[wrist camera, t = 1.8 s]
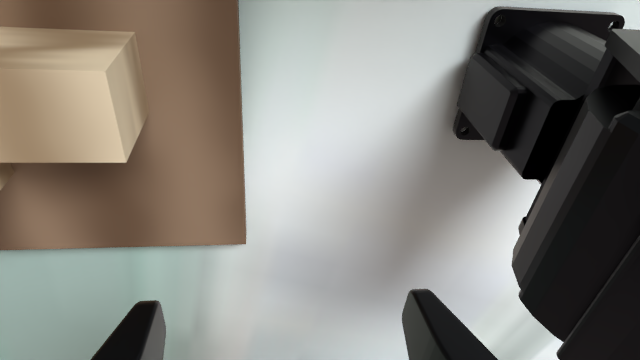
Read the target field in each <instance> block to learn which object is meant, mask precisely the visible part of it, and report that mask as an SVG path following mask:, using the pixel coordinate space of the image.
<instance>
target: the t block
mask: <svg viewBox="0 0 640 360" xmlns="http://www.w3.org/2000/svg"><path fill="white" fill-rule="evenodd" d="M148 114H149V109H148V103H147V97H146V92H145V86H144V80H143V75H142V69H141V64H140V58H139V52H138V47H137V41H136V35H135V32H119V31H94V30H69V29H44V28H20V27H0V190H1V189H2V188H3V186H4V185H5V184H6V183H7V181H8V180H9V179H10V178H11V176H12V175H13V174H14V170H13V168H12V165H11V163H126V162H127V160H128V158H129V156H130V153H131V151H132V149H133V147H134V144H135V142H136V140H137V138H138V136H139V133H140V131H141V129H142V127H143V125H144V122H145V120H146V118H147V116H148Z"/></svg>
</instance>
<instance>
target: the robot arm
mask: <svg viewBox="0 0 640 360" xmlns="http://www.w3.org/2000/svg"><path fill="white" fill-rule="evenodd" d="M499 15H502V19H501V21H500V22H499V23H497V24H494V23H495V19H496V17H498V16H499ZM612 22H613V25H612V26H611V27H610V28H609V29H608V26H609V25H610V23H612ZM624 23H625V21H624V18H623V16H621V15H618V14H616V13H610V12H592V11H573V10H555V9H536V8H518V7H495V8H493V9H491V10H490V11H489V12H488V14H487V16H486V18H485V21H484V25H483V28H482V32H481V35H480V38H479V42H478V45H477V48H476V52H475V54H474V55H473V56H472V57H471V58H470V61H469V65H468V68H467V72H466V75H465V79H464V82H463V85H462V89H461V92H460V96H459V99H458V103H457V106H458V107H459V109H458V113H457V116H456V120H455V123H454V126H453V132H454V134H455V135H456V137H457V138H459V139H462V140H486V142H487V143H488V144H489V145H490V147H491V148H492V149H493V150H495V151H500V152H501V153H502V154H503V155H504V156H505V158H506V159H507V160H508V161H509V162H510V164H511V165H512V166H513V167H514V168H515V170H516V171H517V172H518V173H519V174H520V175H521V177H522V178H523V179H536V180H537V181H538V182H539V183H540V184H541V187H540V189H539V191H538V193H537V195H536V197H535V199H534V201H533V203H532V206H531V208H530V210H529V212H528V214H527V216H526V217H523V219H522V221H521V223H520V225H519V228H518V229H519V234H520V236H519V239H518V241H517V243H516V245H515V247H514V249H513V258H512V268H513V271H514V273H515V276H516V279H517V282H518V285H519V287H520V289H521V290H520V292H519V298H520V300H521V301H522V303H523V304H524V305H525V307H526V308H527V309H528V310H529V312H530V313H531V314H532V316H533V317H534V318H536V319H537V320H538V321H539V322H540V323H541V324H542V325H543V326H544V327H545V328H546V329H547V330H548V331H550V332H551V333H552V334H553V335H554V336H556V337H557V338H558V339H560V340H561V341H563V342H564V343H563V344H562V346H561V347H560V348H559V350H558V351H557V357H558V358H559V359H560V360H640V30H629V29H623V26H624ZM464 127H467V128H466V130H465V131H462V132H461V130H462V129H463V128H464ZM402 323H403V329H404V334H405V340H406V345H407V351H408V356H409V360H498V359H497V358H496V357H495V356H494V355H493V354H492V353H491V352H490V351H489V350H488V349H487V348H486V347H485V346H484V345H483V344H482V343H481V342H480V341H479V340H478V339H477V338H476V337H475V336H474V335H473V334H472V332H471V331H470V330H469V329H468V328H467V327H466V326H465V325H464V324H463V323H462V322H461V321H460V320H459V319H458V318H457V317H456V316H455V315H454V314H453V313H452V312H451V311H450V310H449V309H448V308H447V307H446V306H445V305H444V304H443V303H442V302H441V301H440V300H439V299H438V298H437V297H436V295H435V294H434V293H433V292H431V291H430V290H428V289H412V290H410V291H409V293H408V296H407V299H406V303H405V306H404V309H403V313H402ZM165 338H166V325H165V320H164V316H163V312H162V307H161V304H160V302H159V301H156V300H155V301H140V302H138V303H136V304H135V305H134V306H133V308H132V309H131V310H130V311H129V313H128V314H127V315H126V316H125V318H124V319H123V320H122V321H121V323H120V324H119V325H118V326H117V328H116V329H115V330H114V331H113V333H112V334H111V335H110V336H109V338H108V339H107V340H106V341H105V343H104V344H103V345H102V346H101V347H100V349H99V350H98V351H97V352H96V354H95V355H94V356H93V357H92V359H91V360H163V355H164V346H165Z"/></svg>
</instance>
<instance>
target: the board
mask: <svg viewBox="0 0 640 360" xmlns="http://www.w3.org/2000/svg"><path fill="white" fill-rule="evenodd" d="M0 27H20V28H44V29H69V30H94V31H119V32H135V35H136V41H137V47H138V52H139V58H140V64H141V69H142V75H143V80H144V86H145V92H146V97H147V103H148V109H149V114H148V116H147V118H146V120H145V122H144V125H143V127H142V129H141V131H140V133H139V136H138V138H137V140H136V142H135V144H134V147H133V149H132V151H131V153H130V156H129V158H128V160H127V162H126V163H11V165H12V168H13V170H14V174H13V175H12V176H11V178H10V179H9V180H8V181H7V183H6V184H5V185H4V186H3V188H2V189H1V190H0V250H24V249H64V248H105V247H146V246H187V245H228V244H246V208H245V179H244V151H243V122H242V94H241V65H240V36H239V8H238V0H0Z"/></svg>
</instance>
